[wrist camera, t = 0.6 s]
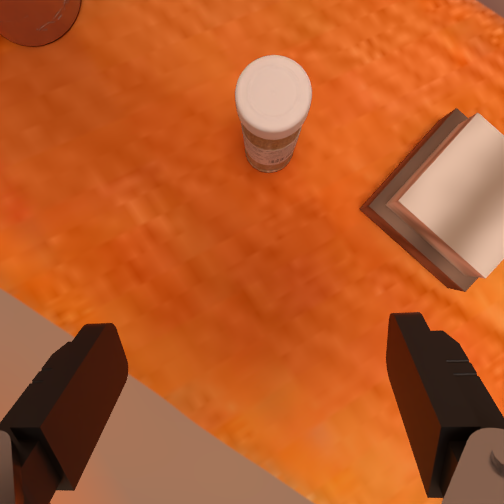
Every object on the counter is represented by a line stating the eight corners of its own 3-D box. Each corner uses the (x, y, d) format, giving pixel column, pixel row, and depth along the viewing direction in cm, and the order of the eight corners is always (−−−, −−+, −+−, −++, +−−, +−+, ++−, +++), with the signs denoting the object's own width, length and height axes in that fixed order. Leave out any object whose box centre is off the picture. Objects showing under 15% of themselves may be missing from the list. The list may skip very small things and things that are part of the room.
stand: (359, 209, 35) (379, 201, 29) (439, 119, 35) (477, 93, 29) (447, 287, 35) (486, 296, 29) (528, 199, 35) (584, 189, 29)
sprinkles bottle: (287, 120, 35) (304, 43, 22) (297, 168, 35) (320, 121, 22) (239, 131, 35) (226, 61, 22) (249, 179, 35) (243, 139, 22)
